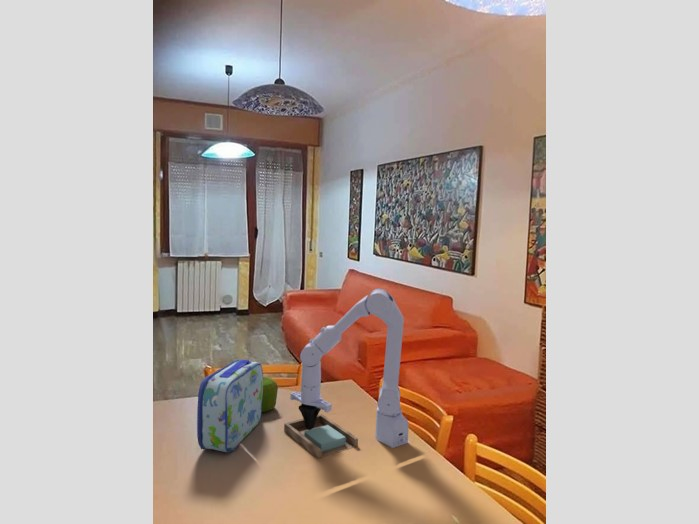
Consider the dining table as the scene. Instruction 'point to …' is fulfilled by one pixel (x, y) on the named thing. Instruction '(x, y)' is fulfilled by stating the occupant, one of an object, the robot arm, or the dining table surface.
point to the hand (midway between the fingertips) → (309, 428)
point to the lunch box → (229, 405)
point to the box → (298, 427)
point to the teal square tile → (325, 437)
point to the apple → (269, 394)
